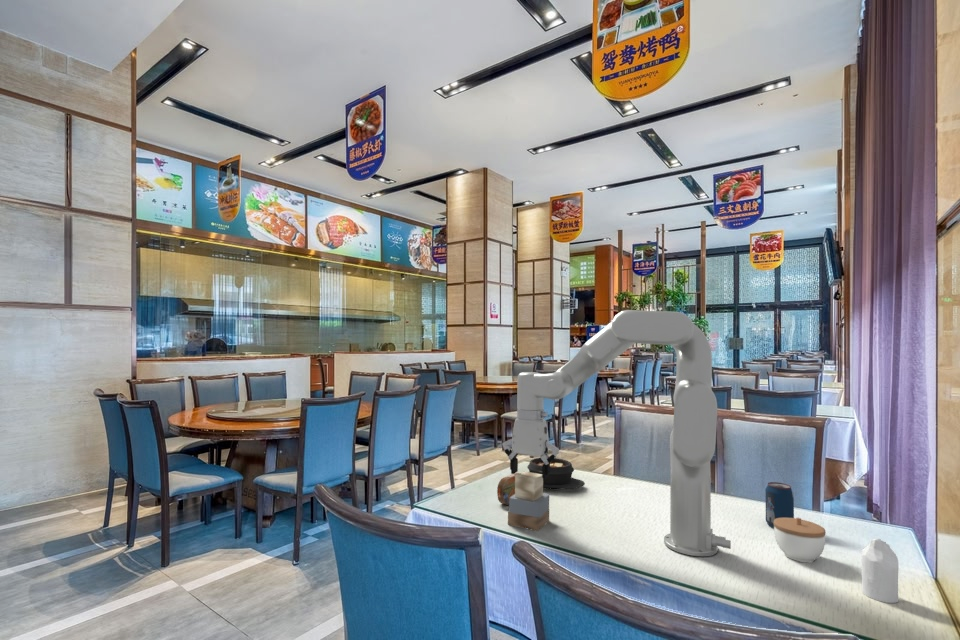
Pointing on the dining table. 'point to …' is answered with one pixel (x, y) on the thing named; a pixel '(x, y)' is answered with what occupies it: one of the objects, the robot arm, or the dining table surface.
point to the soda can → (778, 502)
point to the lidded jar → (799, 538)
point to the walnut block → (528, 520)
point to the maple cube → (528, 486)
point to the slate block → (529, 506)
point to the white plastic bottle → (880, 572)
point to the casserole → (556, 474)
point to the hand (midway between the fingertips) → (529, 475)
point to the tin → (506, 488)
